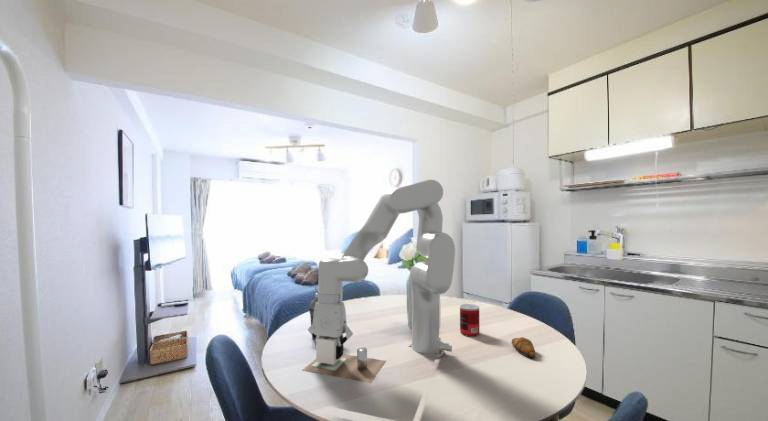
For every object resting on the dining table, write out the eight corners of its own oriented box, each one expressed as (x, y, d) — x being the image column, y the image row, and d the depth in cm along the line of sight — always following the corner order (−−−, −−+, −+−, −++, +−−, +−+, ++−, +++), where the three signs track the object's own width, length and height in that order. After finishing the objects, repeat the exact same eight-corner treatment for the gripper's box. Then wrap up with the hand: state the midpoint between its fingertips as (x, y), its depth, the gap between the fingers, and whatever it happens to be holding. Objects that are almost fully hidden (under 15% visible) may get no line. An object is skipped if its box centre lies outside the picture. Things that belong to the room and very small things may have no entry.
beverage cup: (325, 341, 117) (325, 288, 117) (306, 340, 117) (307, 288, 118) (328, 334, 124) (329, 284, 125) (311, 333, 124) (311, 284, 125)
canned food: (481, 332, 127) (481, 305, 127) (476, 338, 120) (476, 310, 120) (463, 328, 131) (463, 302, 131) (457, 334, 124) (457, 307, 124)
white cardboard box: (333, 364, 92) (333, 340, 92) (316, 361, 93) (316, 338, 94) (342, 356, 97) (342, 333, 98) (325, 353, 99) (326, 331, 99)
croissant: (543, 359, 101) (543, 344, 102) (524, 360, 101) (523, 345, 101) (522, 343, 115) (522, 330, 115) (505, 344, 114) (505, 330, 115)
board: (386, 365, 97) (386, 360, 97) (370, 388, 83) (370, 381, 84) (325, 355, 104) (325, 350, 104) (301, 375, 90) (301, 369, 90)
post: (368, 366, 93) (368, 348, 93) (364, 371, 90) (364, 352, 90) (359, 365, 94) (359, 347, 94) (355, 369, 91) (355, 350, 91)
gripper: (300, 298, 95) (299, 357, 95) (350, 303, 90) (349, 365, 89) (312, 293, 102) (312, 347, 102) (360, 297, 97) (359, 354, 96)
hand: (329, 355), depth 95 cm, fingers closed on white cardboard box, 5 cm apart
